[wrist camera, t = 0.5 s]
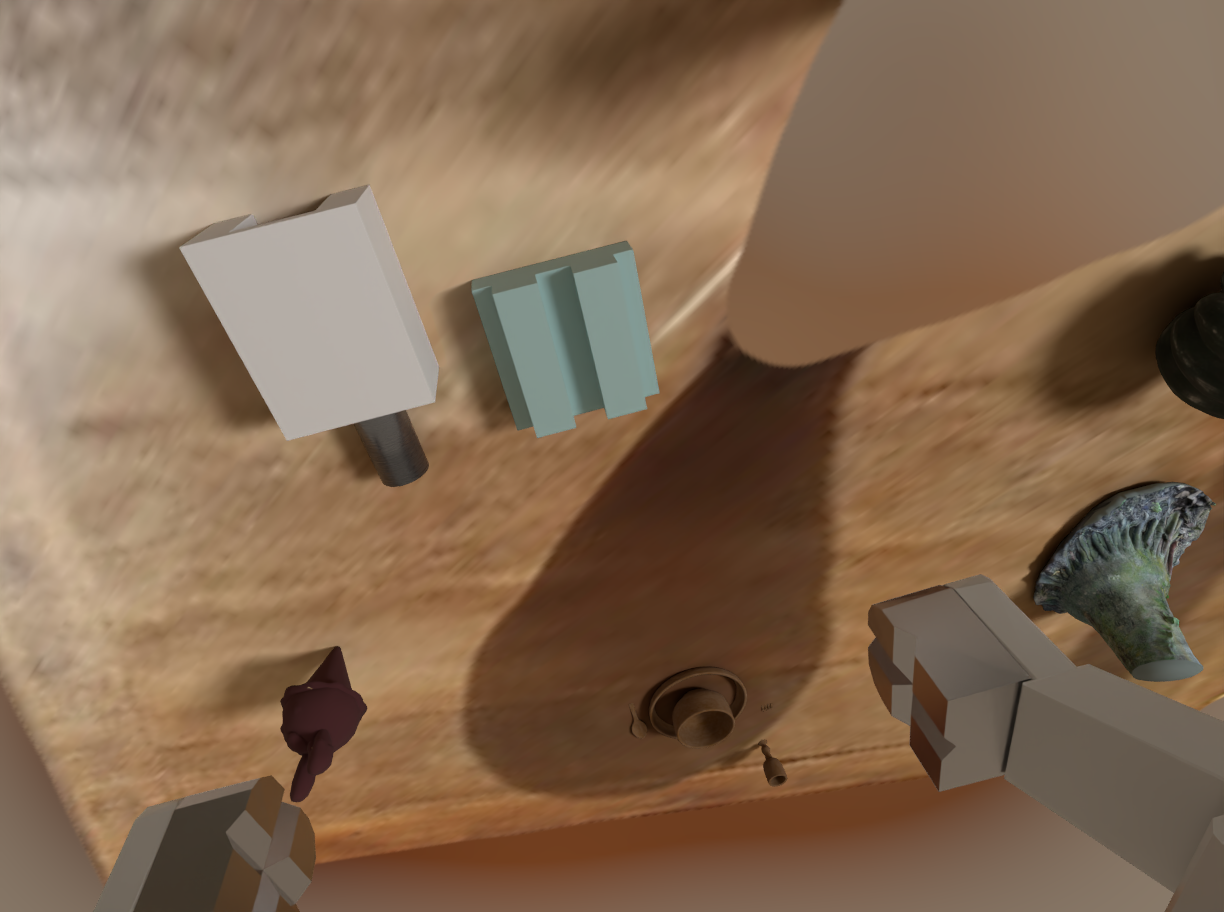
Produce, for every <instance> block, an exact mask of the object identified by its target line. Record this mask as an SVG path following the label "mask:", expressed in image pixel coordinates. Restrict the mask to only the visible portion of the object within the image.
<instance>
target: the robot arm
mask: <svg viewBox="0 0 1224 912" xmlns="http://www.w3.org/2000/svg"><path fill="white" fill-rule="evenodd" d="M868 626H869V627H870V629H871V630H872V632H873V633H874V635H875V636H876V638H875V639H874V640H873V642H872V643H871V644H870V646H869V647H868V656H869V667H870V670H871V674H872V677H873V681H874V684H875V686H876V688H877V690H878V693H879V695H880V697H881V699H882V701H883V702H884V704H885V706H886V707H887V709H888V711H889V712H890V714H891V716H893V717H895V718H896V719H898V720H900V721H902V722H904V723H905V724H907V725H909V726H910V747H911V748H912V750H913V751H914V753H915V754H916V756H917V758H918V759H919V761H920V762H921V764H922V766H923V767H924V769H925V770H926V772H927V774H928V775H929V777H930V778H931V780H932V781H933V783H934V785H935V786H936V788H937V790H938V791H939V792H940V791H944V790H948V789H951V788H955V787H959V786H963V785H967V784H970V783H975V782H978V781H982V780H986V779H990V778H993V777H998V776H1001V775H1005V777H1004V779H1006V780H1007V781H1009V782H1010V783H1012V784H1013V785H1015V786H1016V787H1018V788H1019V789H1020V790H1022V791H1024V792H1025V793H1026V794H1028V795H1029V796H1031V797H1032V798H1034V799H1035V800H1037V801H1038V802H1040V803H1041V804H1043V805H1044V806H1046V807H1047V808H1049V809H1050V810H1052V811H1053V812H1055V813H1056V814H1058V815H1059V816H1061V817H1062V818H1064V819H1065V820H1066V821H1068V822H1069V823H1071V824H1072V825H1074V826H1075V827H1077V828H1078V829H1080V830H1081V831H1083V832H1084V833H1086V834H1087V835H1089V836H1090V837H1092V838H1093V839H1095V840H1096V841H1098V842H1099V843H1101V844H1102V845H1104V846H1105V847H1107V848H1108V849H1110V850H1111V851H1112V852H1114V853H1115V854H1117V855H1118V856H1120V857H1121V858H1123V859H1124V860H1126V861H1127V862H1129V863H1130V864H1132V865H1133V866H1135V867H1136V868H1138V869H1139V870H1141V871H1142V872H1144V873H1145V874H1147V875H1148V876H1150V877H1151V878H1153V879H1154V880H1155V881H1157V882H1159V883H1160V884H1161V885H1163V886H1164V887H1166V888H1167V889H1169V890H1170V891H1172V892H1173V893H1174V894H1173V896H1172V898H1171V901H1170V903H1169V904H1168V906H1167V908H1166V910H1165V912H1224V721H1222V720H1219V719H1216V718H1214V717H1212V716H1210V715H1207V714H1205V713H1202V712H1200V711H1198V710H1196V709H1193V708H1191V707H1188V706H1186V705H1184V704H1181V703H1179V702H1177V701H1174V700H1172V699H1170V698H1167V697H1165V696H1162V695H1160V694H1158V693H1155V692H1153V691H1151V690H1148V689H1146V688H1144V687H1141V686H1139V685H1136V684H1134V683H1132V682H1129V681H1127V680H1125V679H1122V678H1120V677H1118V676H1115V675H1113V674H1110V673H1108V672H1106V671H1103V670H1101V669H1099V668H1096V667H1094V666H1092V665H1089V664H1087V665H1083V666H1079V667H1076V666H1075V665H1074V664H1073V663H1072V662H1071V661H1070V660H1069V659H1068V658H1067V657H1066V656H1065V655H1064V654H1063V653H1062V652H1061V651H1060V650H1059V649H1058V647H1057V646H1056V645H1055V644H1054V643H1053V642H1052V641H1051V640H1050V639H1049V638H1048V637H1047V636H1046V635H1045V634H1044V633H1043V632H1042V631H1041V630H1040V629H1039V628H1038V627H1037V626H1036V625H1035V624H1034V623H1033V622H1032V621H1031V620H1030V619H1029V618H1028V617H1027V616H1026V615H1025V614H1024V613H1023V612H1022V611H1021V610H1020V609H1019V608H1018V607H1017V606H1016V605H1015V604H1014V603H1013V602H1012V601H1011V600H1010V599H1009V598H1008V597H1007V595H1006V594H1005V593H1004V592H1003V591H1002V590H1001V589H1000V588H999V587H998V586H997V585H996V584H995V583H994V582H993V581H992V580H991V579H990V578H988V577H985V576H983V575H981V574H980V575H976V576H973V577H969V578H966V579H962V580H959V581H955V582H951V583H948V584H945V585H943V586H941V585H938V586H935V587H931V588H928V589H924V590H921V591H918V592H914V593H911V594H907V595H904V596H901V597H897V598H894V599H891V600H887V601H884V602H880V603H877V604H874V605H872V606H871V608H870V610H869V612H868ZM284 790H285V789H284V788H283V787H282V786H281V785H280V784H279V783H278V782H277V781H276V780H275V779H274V777H273V776H272V775H271V776H267V777H262V778H258V779H254V780H250V781H246V782H242V783H238V784H234V785H230V786H226V787H223V788H219V789H215V790H211V791H207V792H203V793H199V794H195V795H191V796H187V797H183V798H180V799H176V800H172V801H169V802H165V803H161V804H157V805H154V806H150V807H147V808H146V809H145V810H144V812H143V813H142V814H141V815H140V816H139V817H138V818H137V819H136V820H135V822H134V824H133V826H132V828H131V830H130V832H129V834H128V837H127V839H126V841H125V843H124V845H123V848H122V850H121V852H120V854H119V856H118V859H117V861H116V863H115V865H114V867H113V870H112V872H111V874H110V876H109V878H108V881H107V883H106V885H105V887H104V889H103V892H102V894H101V896H100V898H99V900H98V903H97V905H96V907H95V909H94V911H93V912H300V911H299V909H298V908H297V905H296V903H297V901H298V900H299V898H300V897H301V896H302V894H303V893H304V891H305V890H306V889H307V887H308V886H309V884H310V883H311V881H312V875H313V870H314V865H315V860H316V852H315V834H314V831H313V828H312V826H311V823H310V820H309V818H308V817H307V816H306V814H305V813H304V812H303V811H302V809H301V808H299V807H296V806H293V805H290V804H287V803H284V802H281V801H282V797H283V794H284Z"/></svg>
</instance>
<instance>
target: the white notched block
mask: <svg viewBox="0 0 1224 912" xmlns="http://www.w3.org/2000/svg"><path fill="white" fill-rule="evenodd" d="M179 248H180V250H181V252H182V254H183V255H184V257H185V259H186V261H187V263H188V264H189V266H190V268H191V270H192V272H193V273H194V275H195V277H196V279H197V280H198V282H199V284H200V286H201V288H202V289H203V291H204V293H205V295H206V297H207V298H208V300H209V302H210V304H211V306H212V307H213V309H214V311H215V313H216V314H217V316H218V318H219V320H220V322H221V323H222V325H223V327H224V329H225V331H226V332H227V334H228V336H229V338H230V340H231V341H232V343H233V345H234V347H235V348H236V350H237V352H238V354H239V356H240V357H241V359H242V361H243V363H244V365H245V366H246V368H247V370H248V372H249V374H250V375H251V377H252V379H253V381H254V382H255V384H256V386H257V388H258V390H259V391H260V393H261V395H262V397H263V399H264V400H265V402H266V404H267V406H268V408H269V409H270V411H271V413H272V415H273V416H274V418H275V420H276V422H277V424H278V425H279V427H280V429H281V431H282V433H283V434H284V436H285V438H286V440H287V441H288V440H292V439H296V438H300V437H304V436H308V435H311V434H315V433H319V432H323V431H327V430H331V429H334V428H338V427H342V426H346V425H350V424H353V423H357V422H361V421H365V420H369V419H373V418H376V417H380V416H384V415H388V414H392V413H396V412H399V411H403V410H407V409H411V408H415V407H419V406H422V405H426V404H430V403H434V402H435V397H436V389H437V380H438V372H439V365H438V363H437V360H436V358H435V355H434V352H433V350H432V347H431V344H430V342H429V339H428V337H427V334H426V331H425V329H424V326H423V323H422V321H421V318H420V316H419V313H418V310H417V308H416V305H415V303H414V300H413V297H412V295H411V292H410V289H409V287H408V284H407V282H406V279H405V276H404V274H403V271H402V268H401V266H400V263H399V261H398V258H397V255H396V253H395V250H394V248H393V245H392V242H391V240H390V237H389V234H388V232H387V229H386V227H385V224H384V221H383V219H382V216H381V213H380V211H379V208H378V206H377V203H376V200H375V198H374V195H373V193H372V190H371V187H370V185H366V186H362V187H358V188H354V189H350V190H346V191H342V192H338V193H334V194H330V196H329V197H328V198H327V199H326V200H325V201H324V202H323V203H322V204H321V205H320V206H319V207H318V208H317V209H316V210H315V211H312V212H308V213H304V214H300V215H296V216H292V217H288V218H284V219H280V220H276V221H272V222H268V223H264V224H260V225H258V224H257V222H256V220H255V218H254V216H253V214H250V215H246V216H242V217H238V218H234V219H230V220H226V221H222V222H218V223H214V224H212V225H211V226H209V227H208V228H206V229H205V230H203V231H202V232H200V233H199V234H198V235H196V236H195V237H193V238H192V239H190V240H189V241H188V242H186V243H185V244H183V245H182V246H180V247H179Z"/></svg>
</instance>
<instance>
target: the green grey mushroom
mask: <svg viewBox="0 0 1224 912" xmlns="http://www.w3.org/2000/svg"><path fill="white" fill-rule="evenodd" d="M1210 505H1214V506H1215V505H1216V504H1215V503H1214V502H1212V501H1211V499H1210V498H1209V497H1208V496H1206V495H1205V494H1204V493H1203V491H1201V490H1199V489H1197V488H1195V487H1192V486H1190V485H1187V484H1185V483H1178V482H1167V483H1156V484H1152V485H1148V486H1144V487H1140V488H1136V489H1133V490H1129V491H1125V492H1121V493H1118V494H1116V495H1114V496H1113V497H1111V498H1109V499H1107V500H1106V501H1104V502H1102V503H1101V504H1099V505H1097V506H1096V507H1094V508H1093V509H1092V510H1091V511H1090V512H1089V513H1088V514H1087V515H1086V516H1085V517H1084V518H1083V519H1082V521H1081V522H1080V523H1079V524H1078V525H1077V526H1076V527H1075V528H1074V529H1073V531H1072V532H1071V533H1070V534H1069V535H1068V536H1067V537H1066V538H1065V539H1064V540H1063V541H1062V542H1061V543H1060V545H1059V546H1058V548H1057V550H1056V551H1055V553H1054V554H1053V556H1052V557H1051V559H1050V560H1049V562H1048V563H1047V565H1046V566H1045V567H1044V569H1043V570H1042V571H1041V573H1040V575H1039V577H1038V579H1037V581H1036V586H1035V587H1036V590H1035V593H1034V601H1035V604H1036V605H1043V609H1044V610H1045V611H1051V610H1053V611H1055V612H1057V613H1060V614H1062V613H1066V612H1068V613H1069V614H1070V615H1072V616H1073V617H1074V618H1076V619H1078V620H1080V621H1082V622H1084V623H1086V624H1088V625H1090V626H1092V627H1093V628H1094V629H1095V630H1096V631H1097V632H1098V633H1099V634H1100V635H1101V637H1102V638H1103V639H1104V640H1105V642H1106V643H1107V644H1108V645H1109V647H1110V648H1111V649H1112V650H1113V652H1114V653H1115V655H1116V656H1117V657H1118V659H1119V660H1120V661H1121V662H1122V664H1123V665H1124V666H1125V668H1126V669H1127V670H1128V671H1129V672H1130V674H1131V675H1132V676H1133V677H1134V678H1135V679H1138V680H1144V681H1154V682H1160V681H1174V680H1180V679H1185V678H1189V677H1192V676H1194V675H1196V674H1198V673H1200V672H1201V671H1202V670H1203V666H1202V665H1201V664H1200V663H1199V661H1198V660H1197V658H1196V657H1195V656H1194V655H1193V653H1192V651H1191V650H1190V648H1189V646H1188V644H1187V642H1186V641H1185V638H1184V636H1183V634H1182V632H1181V630H1180V628H1179V620H1178V619H1177V618H1174V616H1173V614H1172V612H1171V611H1170V609H1169V605H1168V603H1167V600H1166V599H1167V598H1169V596H1168V592H1169V588H1170V583H1169V581H1170V579H1171V574H1172V568H1173V567H1174V566H1175V565H1177V564H1179V558H1180V556H1181V555H1182V554H1183V553H1184V549H1185V548H1186V547H1188V546H1189V545H1191V542H1192V541H1194V540H1197V538H1199V536H1200V534H1201V533H1202V531H1203V530H1204V527H1205V523H1206V520H1207V517H1208V515H1209V512H1210V510H1211V509H1212V508H1211V506H1210Z"/></svg>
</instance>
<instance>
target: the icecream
mask: <svg viewBox="0 0 1224 912" xmlns="http://www.w3.org/2000/svg"><path fill="white" fill-rule="evenodd" d="M280 702H281V705H282V707H283V711H282V712H283V724H282V726H281V728H280V729H281V732H282V733H283V736H284V739H285V741H286V742H287V745H288V747H289V748H290V749H291V750H292V751H294V752H297V753H298V754H299V755H302V758H301V760H300V762H299V764H298V767H297V770H296V773H295V775H294V778H293V781H292V786H291V792H290V798H291V801H293V802H301V801H302V800H304V799H305V798H306V797H307V796H308V795H309V793H310V791H311V789H312V786H313V784H314V782H315V776H316V775H319V774H321V773H323V772H324V771H326V770H327V769H328V768H329V767H330V765H331V762H332V758H333V753H334V752H335V751H337V750H338V749H339V748H341V747H342V746H343V745H345V744H346V743H347V742H348V741H349V740H350V739H351V738H352V736H353V735H354V734H355V731H356V729H357V726H358V724H359V722H360V720H361V718H362V716H363V715H364V714H365V712H366V710H367V706H366V704H365V703H364V702H363V699H362V697H361V695H360V694H359V693H357V692H356V691H354V690H352V688H351V685H350V681H349V677H348V674H347V670H346V666H345V662H344V659H343V655H342V651H341V648H340V647H338V646H337V647H335V648H334V649H333V650H332V651H331V653H330V654H329V655H328V656H327V658H326V659H325V660H324V662H323V663H322V664H321V665H320V667H319V668H318V669H317V670H316V672H315V673H314V674H313V675H312V677H311V678H310V679H309V680H308V682H307V683H305V684H302V685H297V686H295V685H294V686H290V687H287V689H286V690H285V694H284V697H283V698H282V699H281V701H280Z"/></svg>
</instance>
